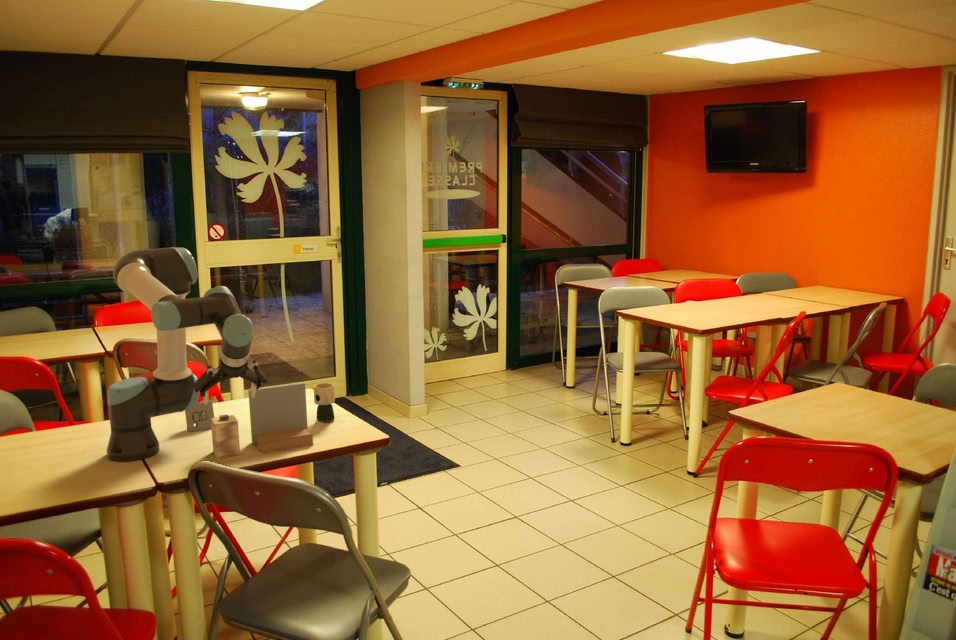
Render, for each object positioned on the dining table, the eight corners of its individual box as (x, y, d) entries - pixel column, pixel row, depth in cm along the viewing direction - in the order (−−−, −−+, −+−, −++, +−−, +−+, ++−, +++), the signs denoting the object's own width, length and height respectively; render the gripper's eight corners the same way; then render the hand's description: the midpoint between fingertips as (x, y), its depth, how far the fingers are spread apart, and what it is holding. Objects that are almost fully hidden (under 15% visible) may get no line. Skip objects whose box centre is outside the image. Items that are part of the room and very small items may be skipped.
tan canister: (217, 458, 240) (214, 420, 238) (213, 451, 246) (210, 414, 244) (240, 454, 243) (237, 417, 241) (236, 447, 250) (233, 411, 247)
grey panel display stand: (259, 453, 244) (256, 398, 240) (251, 442, 254) (248, 389, 251) (316, 444, 252) (313, 390, 248) (306, 433, 262) (303, 382, 259)
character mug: (312, 418, 279) (310, 382, 277) (331, 415, 282) (329, 380, 280) (319, 426, 269) (317, 390, 267) (339, 423, 272) (337, 387, 270)
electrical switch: (187, 432, 265) (185, 406, 264) (184, 430, 269) (182, 403, 268) (216, 428, 270) (213, 401, 269) (212, 425, 274) (210, 399, 273)
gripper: (189, 374, 208) (186, 414, 224) (282, 362, 219) (273, 401, 235) (184, 351, 212) (182, 392, 227) (276, 341, 223) (268, 380, 238)
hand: (229, 397), depth 231 cm, fingers open, 13 cm apart
